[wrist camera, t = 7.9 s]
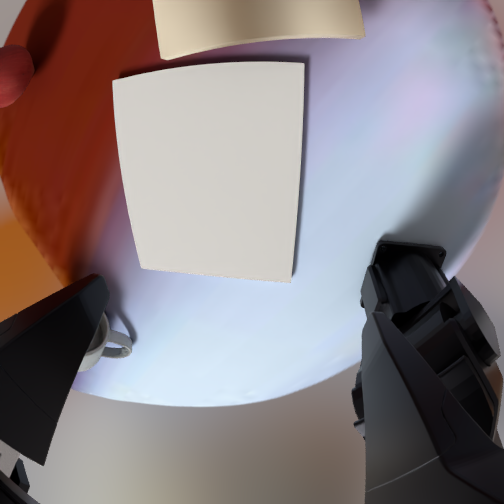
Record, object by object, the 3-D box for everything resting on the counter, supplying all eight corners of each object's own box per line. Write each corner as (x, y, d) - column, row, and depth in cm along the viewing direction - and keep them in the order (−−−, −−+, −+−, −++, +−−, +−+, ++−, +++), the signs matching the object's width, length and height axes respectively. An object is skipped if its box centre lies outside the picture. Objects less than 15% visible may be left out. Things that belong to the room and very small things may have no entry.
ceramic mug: (67, 317, 32) (41, 357, 25) (69, 283, 27) (34, 328, 21) (129, 356, 34) (108, 400, 28) (142, 330, 30) (116, 382, 23)
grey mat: (303, 64, 14) (304, 63, 13) (290, 278, 22) (290, 282, 22) (117, 80, 15) (112, 80, 15) (144, 264, 24) (141, 268, 23)
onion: (11, 91, 15) (-49, 110, 8) (28, 39, 12) (-36, 47, 6) (38, 107, 16) (-30, 130, 10) (58, 49, 13) (-15, 56, 7)
